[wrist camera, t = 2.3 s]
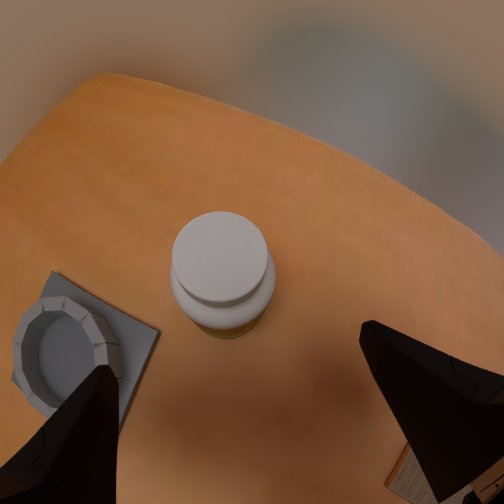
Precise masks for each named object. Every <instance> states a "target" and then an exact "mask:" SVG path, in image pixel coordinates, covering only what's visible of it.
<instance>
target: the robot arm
mask: <svg viewBox="0 0 504 504" xmlns="http://www.w3.org/2000/svg"><path fill="white" fill-rule="evenodd" d="M359 343H360V346H361V349H362V351H363V353H364V356H365V358H366V361H367V363H368V365H369V368H370V370H371V373H372V375H373V377H374V379H375V381H376V383H377V385H378V386H379V388H380V390H381V392H382V394H383V396H384V397H385V399H386V401H387V403H388V405H389V407H390V408H391V410H392V412H393V414H394V416H395V418H396V420H397V422H398V423H399V425H400V427H401V429H402V431H403V433H404V435H405V437H406V439H407V441H408V443H409V445H410V447H411V449H412V451H413V453H414V455H415V457H416V459H417V461H418V462H419V465H420V467H421V469H422V471H423V473H424V475H425V477H426V479H427V481H428V483H429V486H430V488H431V490H432V492H433V494H434V496H435V498H436V500H437V502H438V504H440V503H441V502H443V501H445V500H446V499H448V498H449V497H451V496H452V495H454V494H455V493H457V492H458V491H460V490H461V489H463V488H464V487H466V486H467V485H468V484H470V486H471V487H472V489H473V490H472V491H470V492H469V493H468V494H466V495H465V496H464V498H463V501H462V504H504V376H503V375H500V374H497V373H494V372H491V371H488V370H485V369H482V368H479V367H477V366H474V365H471V364H468V363H466V362H464V361H461V360H459V359H457V358H455V357H452V356H449V355H448V354H446V353H444V352H441V351H439V350H437V349H435V348H433V347H431V346H428V345H426V344H424V343H422V342H420V341H418V340H415V339H413V338H411V337H409V336H407V335H405V334H403V333H400V332H398V331H396V330H394V329H392V328H390V327H388V326H385V325H383V324H381V323H379V322H377V321H375V320H370V321H366V322H364V323H363V324H362V327H361V332H360V338H359ZM118 433H119V382H118V379H117V378H116V376H115V374H114V372H113V370H112V369H111V367H110V366H109V365H107V364H104V365H98V366H96V368H95V369H94V370H93V371H92V372H91V373H90V374H89V375H88V376H87V377H86V378H85V379H84V380H83V381H82V383H81V384H80V385H79V386H78V387H77V388H76V389H75V390H74V391H73V392H72V393H71V395H70V396H69V397H68V398H67V399H66V400H65V401H64V402H63V403H62V404H61V406H60V407H59V408H58V409H57V410H56V411H55V412H54V413H53V415H52V416H51V417H50V418H49V419H48V420H47V421H46V422H45V424H44V425H43V426H42V427H41V428H40V429H39V430H38V431H37V433H36V434H35V435H34V436H33V437H32V438H31V439H30V440H29V441H28V442H27V443H26V444H25V445H24V446H23V447H22V448H21V449H20V450H19V451H18V452H17V453H16V454H15V455H14V456H13V457H12V458H11V459H10V460H9V461H8V462H7V463H5V464H4V465H3V466H2V467H1V468H0V504H116V468H117V447H118Z"/></svg>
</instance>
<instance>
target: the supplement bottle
mask: <svg viewBox="0 0 504 504" xmlns="http://www.w3.org/2000/svg"><path fill="white" fill-rule="evenodd" d="M170 284H171V289H172V293H173V295H174V298H175V300H176V302H177V303H178V305H179V307H180V308H181V309H182V311H183V312H184V313H185V314H186V315H187V316H188V317H189V318H190V319H191V320H192V321H193V322H194V323H195V324H196V325H197V326H198V327H199V328H200V329H201V330H203V331H204V332H206V333H207V334H209V335H211V336H214V337H218V338H224V339H228V338H235V337H239V336H241V335H243V334H245V333H247V332H248V331H250V330H251V329H252V328H253V327H254V326H255V325H256V324H257V322H258V321H259V319H260V318H261V316H262V314H263V312H264V310H265V308H266V307H267V305H268V304H269V302H270V300H271V297H272V295H273V292H274V288H275V284H276V269H275V263H274V260H273V258H272V255H271V253H270V251H269V250H268V248H267V244H266V241H265V239H264V237H263V235H262V233H261V232H260V230H259V229H258V228H257V227H256V226H255V225H254V224H253V223H252V222H251V221H250V220H248V219H246V218H245V217H243V216H241V215H238V214H235V213H231V212H224V211H218V212H210V213H206V214H203V215H201V216H199V217H196V218H195V219H193V220H192V221H190V222H189V223H188V224H187V225H186V226H184V228H183V229H182V230H181V231H180V233H179V234H178V236H177V238H176V240H175V242H174V245H173V250H172V264H171V269H170Z"/></svg>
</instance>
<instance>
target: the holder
mask: <svg viewBox="0 0 504 504" xmlns="http://www.w3.org/2000/svg"><path fill="white" fill-rule="evenodd" d="M160 333H161V332H159V331H157V330H155V329H153V328H151V327H149V326H147V325H145V324H143V323H141V322H139V321H137V320H135V319H133V318H131V317H129V316H128V315H126V314H124V313H122V312H120V311H118V310H117V309H115V308H113V307H111V306H109V305H108V304H106V303H104V302H102V301H101V300H99V299H97V298H96V297H94V296H92V295H91V294H89V293H87V292H86V291H84V290H82V289H81V288H79V287H77V286H76V285H74V284H73V283H71V282H70V281H68V280H66V279H65V278H63V277H62V276H60V275H59V274H57V273H56V272H54V271H52V272H51V274H50V276H49V278H48V280H47V283H46V285H45V287H44V289H43V291H42V293H41V296H40V298H39V300H38V301H37V302H36V303H35V304H34V305H33V306H31V307H30V308H29V309H28V310H27V311H26V312H25V313H24V314H23V315H22V317H21V319H20V322H19V325H18V328H17V330H16V333H15V336H14V339H13V341H14V342H13V360H14V370H13V373H12V377H11V380H12V381H13V382H14V383H15V384H16V385H17V386H18V387H19V388H20V389H21V390H22V391H23V392H24V395H25V397H26V399H27V400H28V402H29V403H31V404H32V405H33V406H34V407H35V408H36V409H37V410H38V411H40V412H41V413H42V414H43V415H44V416H45V417H47V418H48V419H49V418H50V417H51V416H52V415H53V413H54V412H55V411H56V410H57V409H58V408H59V407H60V406H61V404H62V403H63V402H64V401H65V400H66V399H67V398H68V397H69V396H70V395H71V393H72V392H73V391H74V390H75V389H76V388H77V387H78V386H79V385H80V384H81V383H82V381H83V380H84V379H85V378H86V377H87V376H88V375H89V374H90V373H91V372H92V371H93V370H94V369H95V368H96V366H98V365H104V364H107V365H109V366H110V367H111V369H112V370H113V372H114V374H115V376H116V378H117V379H118V382H119V433H120V430H121V428H122V425H123V422H124V420H125V417H126V415H127V412H128V410H129V407H130V404H131V402H132V399H133V397H134V394H135V392H136V390H137V387H138V385H139V382H140V380H141V377H142V375H143V373H144V370H145V368H146V365H147V363H148V361H149V358H150V356H151V354H152V351H153V349H154V347H155V344H156V342H157V340H158V338H159V335H160ZM119 433H118V436H119Z"/></svg>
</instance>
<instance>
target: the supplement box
mask: <svg viewBox="0 0 504 504" xmlns="http://www.w3.org/2000/svg"><path fill="white" fill-rule="evenodd" d="M385 487H386V488H388V489H389V490H391V491H392V492H394V493H395V494H397V495H398V496H400V497H402V498H403V499H405V500H406V501H408V502H409V503H411V504H438V502H437V500H436V498H435V496H434V494H433V492H432V490H431V488H430V486H429V483H428V481H427V479H426V477H425V475H424V473H423V471H422V469H421V467H420V465H419V462H418V461H417V459H416V457H415V455H414V453H413V451H412V449H411V447H410V445H409V443H408V445H407V447H406V449H405V450H404V452H403V454H402V456H401V458H400V459H399V461H398V463H397V465H396V467H395V468H394V470H393V472H392V474H391V475H390V477H389V479H388V480H387V482H386V483H385ZM472 490H473V489H472V487H471V486H470V484H468V485H467V486H466V487H464V488H463V489H461V490H460V491H458V492H457V493H455V494H454V495H452V496H451V497H449V498H448V499H446V500H445V501H443V502H441V503H440V504H462V501H463V498H464V496H465V495H466V494H468V493H469V492H470V491H472Z"/></svg>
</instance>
